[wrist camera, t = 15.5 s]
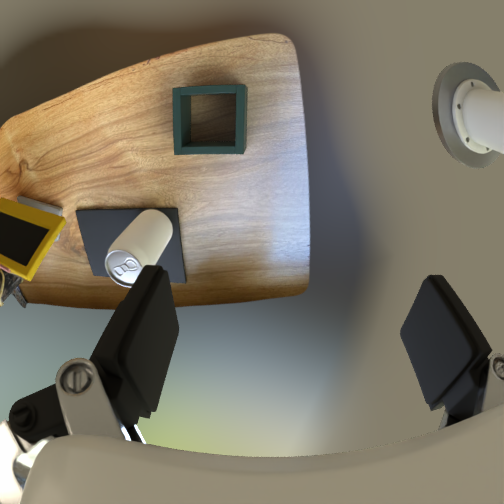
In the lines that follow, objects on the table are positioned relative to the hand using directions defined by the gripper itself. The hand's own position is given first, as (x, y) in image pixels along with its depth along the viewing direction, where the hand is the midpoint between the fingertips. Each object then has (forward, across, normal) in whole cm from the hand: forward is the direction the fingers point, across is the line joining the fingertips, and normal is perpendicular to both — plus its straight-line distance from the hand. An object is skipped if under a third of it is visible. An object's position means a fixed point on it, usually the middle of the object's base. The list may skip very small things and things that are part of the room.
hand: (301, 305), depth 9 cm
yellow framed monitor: (+31, +45, +10) cm, 55 cm away
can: (+30, +18, +12) cm, 37 cm away
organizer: (+30, +8, -4) cm, 32 cm away
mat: (+30, +24, +16) cm, 42 cm away
